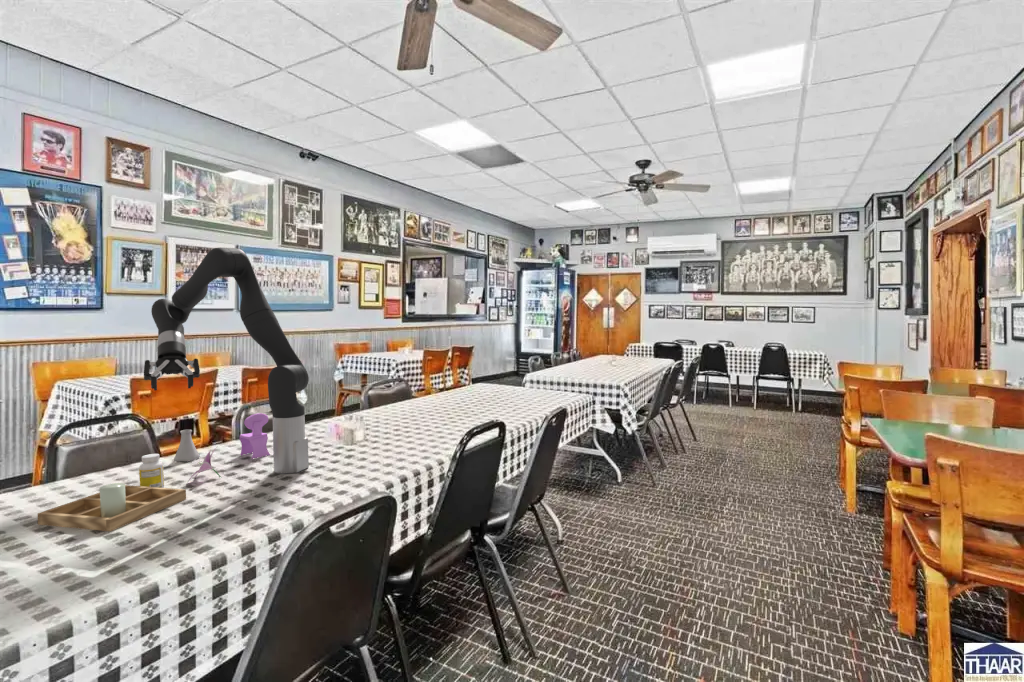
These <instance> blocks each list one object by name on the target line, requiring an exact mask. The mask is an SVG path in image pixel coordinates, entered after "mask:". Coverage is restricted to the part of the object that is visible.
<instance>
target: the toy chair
mask: <svg viewBox="0 0 1024 682" xmlns="http://www.w3.org/2000/svg"><path fill="white" fill-rule="evenodd" d="M268 422H269V416H268V414H265V413H262V412H258V413H253V414H251V415H249V416H248V417H246V418H245V419H244V421H243V424H244V425H245V427H246V428H247V429H249V430H250V431H251V432H249V433H242V434H239V442H240V444H241V450H240V454H239V455H241V456H244V455H243V454H246V455H248V454H247V453H251V455H252V456H251V460H254V459H253V458H256V459H258V458H257V457H260V458H263V457H262V456H264V457H267V456H266V455H269V456H271V454H270V452H269V450H268V448H267V443H268V440H269V437H268V433H266V432H263V427H264V426H265V425H267V423H268ZM252 452H253V453H252Z"/></svg>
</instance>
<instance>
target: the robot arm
mask: <svg viewBox="0 0 1024 682" xmlns="http://www.w3.org/2000/svg"><path fill="white" fill-rule="evenodd" d="M199 263H200V264H199V265H198V266H197V268H195V270H194V272H193V273H192V275H191V276H190V277H189V279H187V281H186V282H184V284H182V286H180V287H179V288H178V289H177V290H176V291H175V292H174V293H172V296H171V300H170V299H166V298H160V299H157V300H155V301H154V302H153V303H152V306H151V312H150V313H151V316H152V319H153V322H154V324H155V326H156V328H157V331H158V334H157V335H158V336H157V337H158V338H157V341H156V343H157V344H156V345H157V346H156V351H157V353H156V354H157V360H156V361H151V360H149V359H146V360H145V361H144V366H143V380H144V381H150V388H151V389H153V391H158V379H160V378H162V377H163V376H164V375H178V374H180V375H182V376H183V377H186V379H187V389H191V388H192V387H194V379H195V378H196V379H197V378H200V375H201V374H200V372H201V371H200V365H199V359H198V358H193V360H188V359H187V346H186V339H185V327H184V324H185V323H186V322H187V321H188V319H189V316H190V315H191V313H192V310H193V309H194V308H195V307H196V306H197V305H198V304H199V303H201V301H202V300H204V298H206V296H207V293H208V291H209V284H210V283H212V282H213V281H215V280H217V279H218V278H233V279H234V280H235V282H236V283H237V286H238V287H239V289H240V290H239V291H240V295H241V299H240V306H239V315H240V319H241V322H242V323H243V325H244V327H245V329H246V331H247V332H248V334H249V336H250V337H251V339H253V340H254V342H256V343H257V344H258V345H259V346H260V347H261V348H262V349H263V350H265V351H266V352H267V353H268V354H269V356H270V357H271V358H272V360H273V361H274V363H275V365H276V366H274V367H273V368H272V369H271V370H270V372H269V374H268V378H267V392H268V393H267V394H268V404H269V408H270V409H271V413H272V442H273V443H272V445H273V446H272V447H273V448H272V451H273V472H274V473H276V474H292V473H293V474H294V473H296V474H297V473H300V472H301V471H303V470H305V469H308V468H309V438H308V437H306V421H305V419H306V418H305V416H306V414H305V406H304V404H302V403H299V402H298V398H297V397H298V396H297V393H298V392H299V393H300V392H302V391H304V390H305V389H307V387H308V385H309V381H310V379H309V378H310V377H309V373H308V370H307V369H306V367H305V365H304V364H303V362H302V361H301V360H300V358H299V357H298V355H297V354H296V352H295V351H294V349H293V347H292V346H291V343H290V342H289V339H288V337H286V334H285V333H284V331H283V329H282V326H281V325H280V322H279V321H278V319H277V317H276V315H275V312H274V311H273V308H271V306H270V304H269V302H268V300H267V297H266V296H265V293H264V292H263V289H262V288H261V285H260V283H259V280H258V278H257V276H256V273H255V271H254V268H253V265H252V263H251V261H250V259H249V256H248V255H247V253H246V252H244V250H242V249H240V248H236V247H214V248H212V249H210V250H209V251H208V252H207V254H206V255H205V256H204V257H203V259H202V260H201V262H199ZM188 366H190V367H191V368H193V371H192V370H190V369H189V367H188ZM154 367H156V369H155V371H153V372H152V373H150V370H152V369H153V368H154Z"/></svg>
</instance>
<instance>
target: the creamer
mask: <svg viewBox="0 0 1024 682" xmlns="http://www.w3.org/2000/svg"><path fill="white" fill-rule="evenodd" d="M125 485H126V483H124V482H115V483H108V484H105V485H102V486H100V487H99V492H100V509H101V517H107V518H111V517H114V516H116V515H119V514H121V513H124V512H126V495H125Z"/></svg>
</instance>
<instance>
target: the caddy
mask: <svg viewBox="0 0 1024 682" xmlns="http://www.w3.org/2000/svg"><path fill="white" fill-rule="evenodd" d="M125 495H126V512H124V513H121V514H119V515H116V516H114V517H111V518H107V517H101V509H100V491H98V492H97V493H94V494H91V495H88V496H85V497H82V498H79V499H76V500H73V501H70V502H67V503H65V504H62V505H58V506H55V507H52V508H50V509H47V510H44V511H41V512H38V513H37V526H38V525H39V526H50V527H62V528H69V529H72V528H73V529H83V530H92V531H103V532H112V531H115V530H116V529H119V528H122V527H124V526H126V525H129V524H131V523H133V522H137V521H138V520H141V519H142V518H145V517H147V516H150V515H152V514H155V513H157V512H160V511H161V510H164V509H166V508H169V507H170V506H174V505H177V504H178V503H180V502H183V501H186V500H187V489H185V488H170V487H169V488H168V487H164V488H159V487H145V486H140V485H132V484H131V485H129V484H125Z"/></svg>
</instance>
